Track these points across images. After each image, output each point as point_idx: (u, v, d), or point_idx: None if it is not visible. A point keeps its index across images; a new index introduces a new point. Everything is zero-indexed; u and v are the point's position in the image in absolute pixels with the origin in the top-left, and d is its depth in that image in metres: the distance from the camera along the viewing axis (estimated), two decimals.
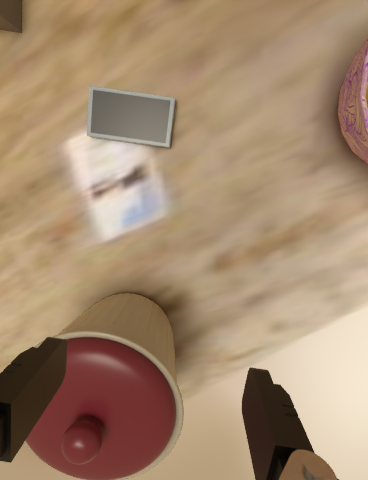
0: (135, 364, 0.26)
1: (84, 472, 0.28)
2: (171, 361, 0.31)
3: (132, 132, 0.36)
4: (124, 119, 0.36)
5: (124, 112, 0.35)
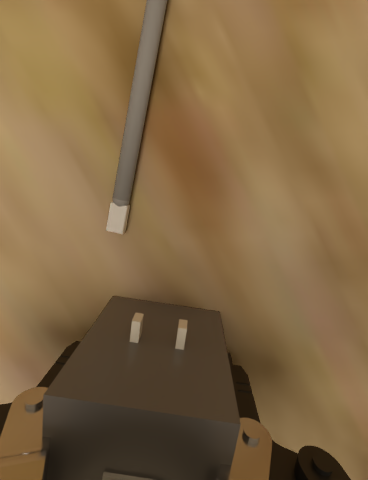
0: None
1: None
2: None
3: None
4: None
5: None
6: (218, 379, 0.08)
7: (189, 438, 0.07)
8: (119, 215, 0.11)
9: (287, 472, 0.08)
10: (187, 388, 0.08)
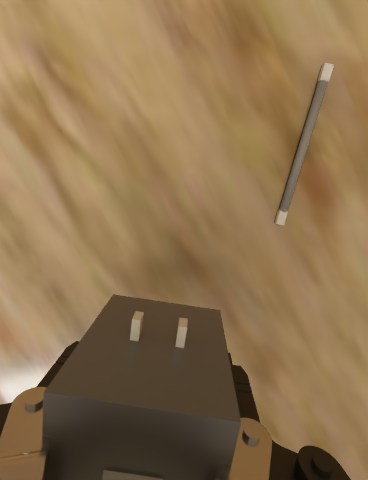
0: None
1: None
2: None
3: None
4: None
5: None
6: (219, 378, 0.08)
7: (190, 436, 0.07)
8: (283, 216, 0.24)
9: (287, 472, 0.08)
10: (187, 387, 0.08)
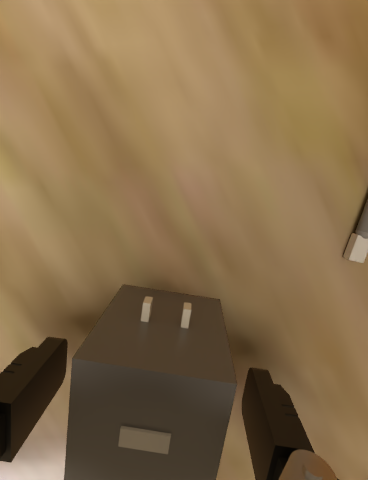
0: None
1: None
2: None
3: None
4: None
5: None
6: (218, 352, 0.10)
7: (194, 396, 0.08)
8: (364, 246, 0.13)
9: None
10: (191, 357, 0.09)
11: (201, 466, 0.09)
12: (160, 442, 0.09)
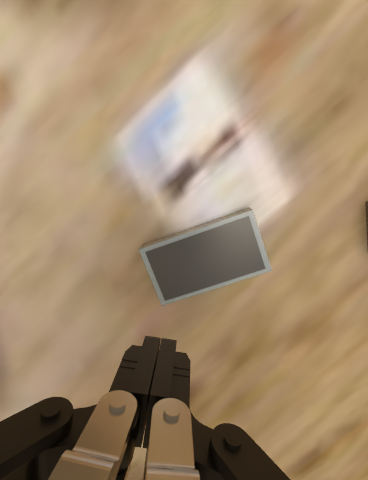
0: None
1: None
2: None
3: (192, 244, 0.25)
4: (210, 253, 0.25)
5: (214, 261, 0.25)
6: None
7: None
8: None
9: (202, 447, 0.08)
10: None
11: None
12: None
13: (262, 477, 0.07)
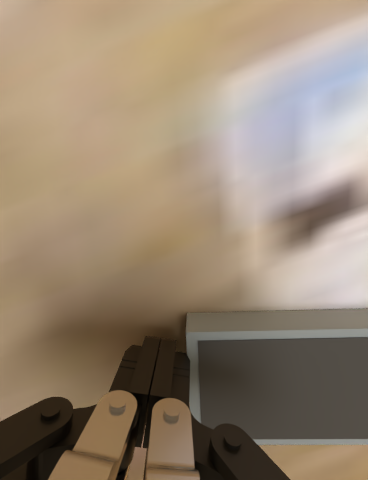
0: None
1: None
2: None
3: (301, 355, 0.12)
4: (328, 382, 0.12)
5: (328, 397, 0.12)
6: None
7: None
8: None
9: (202, 447, 0.08)
10: None
11: None
12: None
13: (262, 477, 0.07)
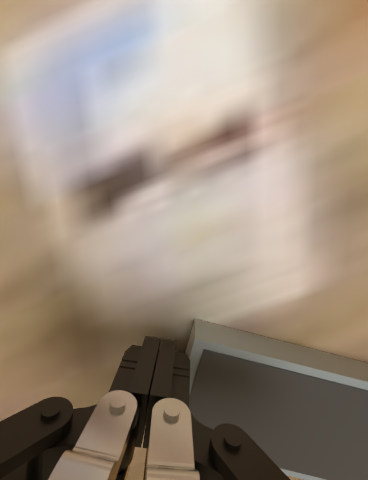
0: None
1: None
2: None
3: (294, 389, 0.12)
4: (310, 420, 0.13)
5: (305, 433, 0.13)
6: None
7: None
8: None
9: (201, 447, 0.08)
10: None
11: None
12: None
13: (262, 477, 0.07)
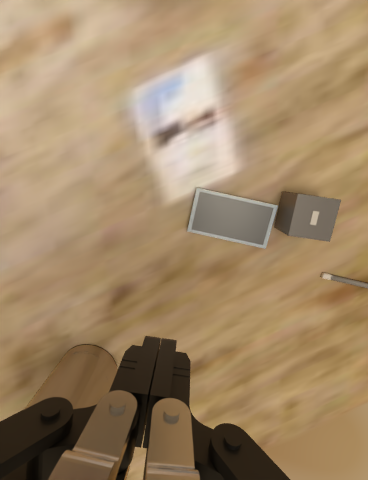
0: None
1: None
2: None
3: (231, 204, 0.36)
4: (237, 216, 0.37)
5: (236, 222, 0.37)
6: None
7: (327, 231, 0.32)
8: (327, 277, 0.39)
9: (202, 447, 0.08)
10: None
11: (304, 233, 0.33)
12: (313, 222, 0.32)
13: (262, 477, 0.07)
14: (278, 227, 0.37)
